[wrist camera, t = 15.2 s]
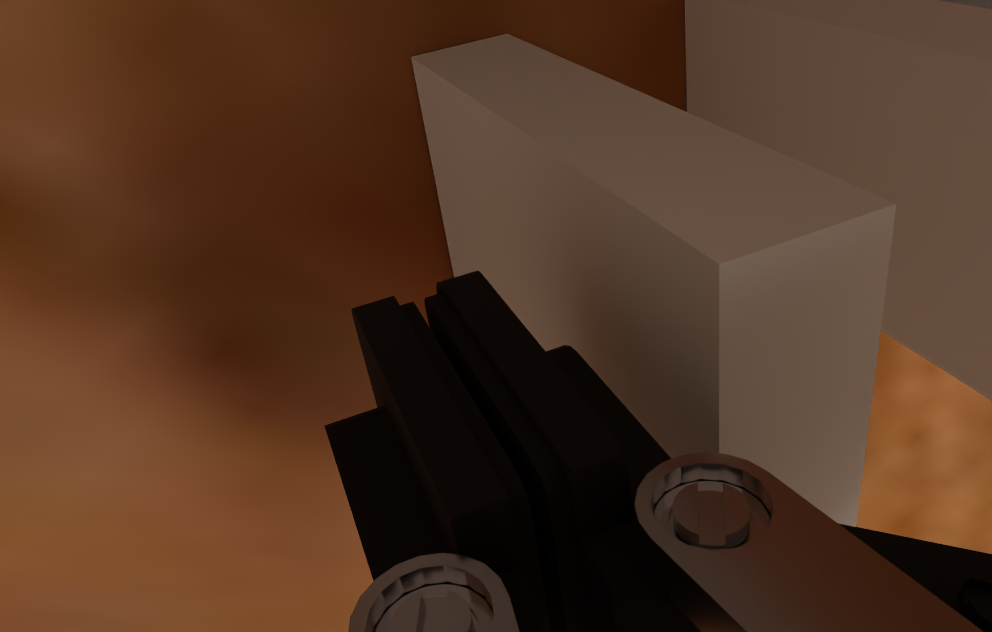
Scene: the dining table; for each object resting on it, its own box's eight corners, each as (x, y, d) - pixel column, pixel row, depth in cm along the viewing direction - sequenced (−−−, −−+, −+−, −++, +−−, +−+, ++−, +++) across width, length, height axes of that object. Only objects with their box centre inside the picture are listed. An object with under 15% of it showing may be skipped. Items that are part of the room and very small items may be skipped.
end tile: (507, 33, 16) (896, 203, 8) (536, 256, 19) (851, 558, 10) (410, 56, 16) (719, 265, 7) (455, 282, 18) (719, 621, 10)
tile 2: (765, -29, 17) (1318, 64, 9) (759, 187, 20) (1184, 409, 12) (684, -10, 17) (1189, 107, 9) (688, 209, 20) (1080, 456, 11)
